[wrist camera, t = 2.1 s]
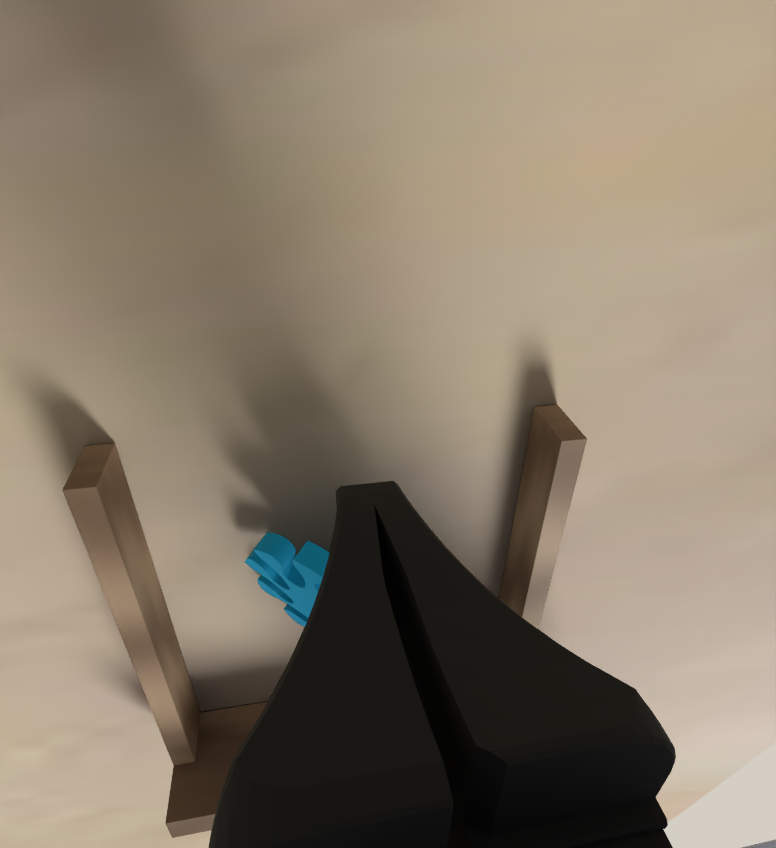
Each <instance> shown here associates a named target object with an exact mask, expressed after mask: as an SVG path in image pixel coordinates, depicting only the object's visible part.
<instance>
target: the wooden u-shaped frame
mask: <svg viewBox="0 0 776 848" xmlns="http://www.w3.org/2000/svg"><path fill="white" fill-rule="evenodd" d="M586 441H587V438H586V437H585V436H584V435H583V434H582V433H581V431H580V430H579V429H578V428H577V427H576V426H575V425H574V423H573V422H572V421H571V420H570V419H569V418H568V416H567V415H566V414H565V413H564V412H563V411H562V410H561V408H560V407H559V406H558V405H550V406H538V407H534V411H533V417H532V422H531V428H530V433H529V439H528V444H527V449H526V455H525V460H524V466H523V471H522V477H521V482H520V487H519V493H518V498H517V504H516V509H515V515H514V520H513V525H512V531H511V536H510V542H509V547H508V553H507V558H506V563H505V569H504V574H503V580H502V585H501V591H500V596H499V599H500V600H501V601H502V602H503V603H505V604H506V605H507V606H508V607H510V608H511V609H512V610H513V611H514V612H516V613H517V614H518V615H519V616H521V617H522V618H523V619H525V620H526V621H528V622H529V623H530V624H532V625H533V626H534V627H536V628H537V629H539V625H540V621H541V617H542V613H543V609H544V605H545V601H546V598H547V594H548V590H549V586H550V582H551V578H552V574H553V570H554V566H555V562H556V558H557V554H558V550H559V547H560V543H561V539H562V535H563V531H564V527H565V523H566V519H567V515H568V511H569V507H570V503H571V500H572V496H573V492H574V488H575V484H576V480H577V476H578V472H579V468H580V464H581V460H582V456H583V452H584V449H585V445H586ZM63 493H64V495H65V498H66V500H67V502H68V505H69V507H70V510H71V512H72V515H73V517H74V520H75V522H76V525H77V527H78V530H79V532H80V535H81V537H82V540H83V542H84V545H85V547H86V549H87V552H88V554H89V557H90V559H91V562H92V564H93V567H94V569H95V572H96V574H97V577H98V579H99V582H100V584H101V587H102V589H103V592H104V594H105V597H106V599H107V601H108V604H109V606H110V609H111V611H112V614H113V616H114V619H115V621H116V624H117V626H118V629H119V631H120V634H121V636H122V639H123V641H124V644H125V646H126V648H127V651H128V653H129V656H130V658H131V661H132V663H133V666H134V668H135V671H136V673H137V676H138V678H139V681H140V683H141V686H142V688H143V691H144V693H145V695H146V698H147V700H148V703H149V705H150V708H151V710H152V713H153V715H154V718H155V720H156V723H157V725H158V728H159V730H160V733H161V735H162V738H163V740H164V743H165V745H166V747H167V750H168V752H169V755H170V757H171V760H172V762H173V765H174V768H173V775H172V782H171V789H170V796H169V803H168V810H167V817H166V826H167V828H168V830H169V832H170V834H171V836H172V838H174V837H179V836H184V835H189V834H194V833H199V832H204V831H209V830H212V826H213V821H214V817H215V813H216V810H217V806H218V803H219V799H220V796H221V793H222V790H223V787H224V784H225V781H226V778H227V775H228V772H229V769H230V766H231V763H232V760H233V758H234V756H235V755H236V753H237V752H238V750H239V748H240V747H241V745H242V744H243V742H244V740H245V739H246V737H247V736H248V734H249V732H250V731H251V729H252V728H253V726H254V724H255V723H256V721H257V719H258V718H259V716H260V715H261V713H262V711H263V709H264V708H265V706H266V704H267V702H262V703H256V704H250V705H244V706H238V707H232V708H226V709H220V710H214V711H207V712H201V713H200V710H199V707H198V704H197V700H196V697H195V694H194V691H193V688H192V685H191V681H190V678H189V675H188V672H187V669H186V666H185V663H184V659H183V656H182V653H181V650H180V647H179V644H178V641H177V637H176V634H175V631H174V628H173V625H172V622H171V618H170V615H169V612H168V609H167V606H166V603H165V600H164V596H163V593H162V590H161V587H160V584H159V581H158V578H157V574H156V571H155V568H154V565H153V562H152V559H151V555H150V552H149V549H148V546H147V543H146V540H145V537H144V533H143V530H142V527H141V524H140V521H139V518H138V515H137V511H136V508H135V505H134V502H133V499H132V496H131V492H130V489H129V486H128V483H127V480H126V477H125V474H124V470H123V467H122V464H121V461H120V458H119V455H118V452H117V448H116V445H115V443H111V444H99V445H87V446H85V447H84V449H83V451H82V453H81V455H80V457H79V459H78V461H77V463H76V465H75V467H74V469H73V471H72V473H71V474H70V476H69V478H68V480H67V482H66V484H65V486H64V488H63Z"/></svg>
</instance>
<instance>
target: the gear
mask: <svg viewBox="0 0 776 848" xmlns="http://www.w3.org/2000/svg"><path fill="white" fill-rule="evenodd" d="M295 553H296V549H295V547H294V545H293V544H292V543H291V542H290V541H289V540H288V539H287V538H285V537H283V536H281V535H278V534H275V533H270V532H267V533H266V535H265V536H264V537H263V538H262V540H261V541H260V542H259V543H258V545H257V546H256V547H255V548H254V551H253V552H252V553H251V554H250V556H249V557H248V558H247V559H246V561H245V563H246V564H247V565H248V566H250V567H251V568H252V569H253V570H255V571H256V572H258V573H259V574H261V576H260V577H259V579H258V584H259V585H260V587H261V588H262V589H263V590H264V591H265V592H267V593H268V594H270V595H272V596H273V597H276V598H278V599H280V600H282V601H284V602H285V603H287V605H286V607H285V608H284V610H285V611H286V612H287V614H288V615H289V616H290V617H291V618H292V619H293V620H295V621H296V622H297V623H299V624H300V625H302V626H305V625H306V623H307V620H308V618H309V615H310V613H311V610H312V608H313V605H314V602H315V599H316V596H317V594H318V591H319V588H320V585H321V581H322V578H323V574H324V571H325V568H326V564H327V561H328V557H329V552H328V551H326V550H325V549H323V548H321V547H320V546H318V545H316V544H314V543H312V542H310V541H307V542H306V543H305V545H304V546H303V547H302V549H301V550H300V551H299V553H298V554H297V555H295Z"/></svg>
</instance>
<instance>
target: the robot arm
mask: <svg viewBox="0 0 776 848" xmlns="http://www.w3.org/2000/svg"><path fill="white" fill-rule="evenodd" d="M336 502H337V514H336V522H335V529H334V534H333V539H332V544H331V548H330V553H329V557H328V561H327V564H326V568H325V571H324V574H323V578H322V581H321V585H320V588H319V591H318V594H317V596H316V599H315V602H314V605H313V608H312V610H311V613H310V615H309V618H308V620H307V623H306V625H305V628H304V630H303V632H302V634H301V637H300V639H299V641H298V643H297V646H296V648H295V650H294V652H293V654H292V657H291V659H290V661H289V663H288V665H287V667H286V669H285V671H284V673H283V674H282V676H281V678H280V680H279V682H278V684H277V686H276V687H275V689H274V691H273V693H272V695H271V697H270V699H269V701H268V702H267V704H266V706H265V708H264V709H263V711H262V713H261V715H260V716H259V718H258V719H257V721H256V723H255V724H254V726H253V728H252V729H251V731H250V732H249V734H248V736H247V737H246V739H245V740H244V742H243V744H242V745H241V747H240V748H239V750H238V752H237V753H236V755H235V756H234V758H233V760H232V763H231V766H230V769H229V772H228V775H227V778H226V781H225V784H224V787H223V790H222V793H221V796H220V799H219V803H218V806H217V810H216V813H215V817H214V821H213V826H212V831H211V837H210V843H209V848H672V845H671V844H670V842H669V840H668V838H667V836H666V834H665V832H664V830H663V829H665V828H666V827H667V819H666V817H665V815H664V813H663V811H662V809H661V807H660V805H659V803H658V802H657V800H656V798H655V797H656V795H657V794H658V792H659V791H660V789H661V787H662V786H663V784H664V782H665V781H666V779H667V777H668V776H669V774H670V772H671V770H672V767H673V765H674V762H675V758H676V755H675V749H674V746H673V744H672V743H671V741H670V739H669V738H668V736H667V734H666V733H665V731H664V729H663V728H662V726H661V724H660V723H659V721H658V720H657V718H656V717H655V715H654V714H653V712H652V711H651V710H650V708H649V707H648V706H647V704H646V703H645V702H644V700H643V699H642V698H641V696H640V695H639V694H638V692H637V691H636V689H634V688H633V687H631V686H629V685H627V684H625V683H624V682H622V681H620V680H618V679H617V678H615V677H613V676H611V675H609V674H608V673H606V672H604V671H602V670H601V669H599V668H597V667H595V666H593V665H592V664H590V663H588V662H586V661H585V660H583V659H581V658H580V657H578V656H577V655H575V654H574V653H572V652H570V651H569V650H567V649H566V648H564V647H563V646H561V645H560V644H558V643H556V642H555V641H554V640H552V639H551V638H550V637H548V636H547V635H545V634H544V633H543V632H541V631H540V630H539V629H537V628H536V627H534V626H533V625H532V624H530V623H529V622H528V621H526V620H525V619H523V618H522V617H521V616H519V615H518V614H517V613H516V612H514V611H513V610H512V609H511V608H510V607H508V606H507V605H506V604H505V603H503V602H502V601H501V600H500V599H499V598H497V597H496V596H495V595H494V594H493V593H492V592H491V591H490V590H488V589H487V588H486V587H485V586H484V585H483V584H482V583H481V582H480V581H479V580H477V579H476V578H475V577H474V576H473V575H472V574H471V573H470V572H469V571H468V570H467V569H466V568H465V567H464V566H463V565H462V564H461V563H460V562H459V561H458V560H457V559H456V557H455V556H454V555H453V554H452V553H451V552H450V551H449V550H448V549H447V548H446V547H445V546H444V544H443V543H442V542H441V541H440V540H439V539H438V537H437V536H436V535H435V534H434V533H433V532H432V530H431V529H430V528H429V527H428V526H427V524H426V523H425V522H424V521H423V519H422V518H421V517H420V515H419V514H418V513H417V512H416V510H415V509H414V508H413V506H412V505H411V503H410V502H409V501H408V499H407V498H406V496H405V495H404V493H403V492H402V490H401V489H400V487H399V486H398V484H396V483H395V482H394V481H388V482H379V483H369V484H360V485H350V486H341V487H340V488H339V489H338V490H336ZM743 848H776V840H772V841H768V842H764V843H759V844H755V845H751V846H747V847H743Z"/></svg>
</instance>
